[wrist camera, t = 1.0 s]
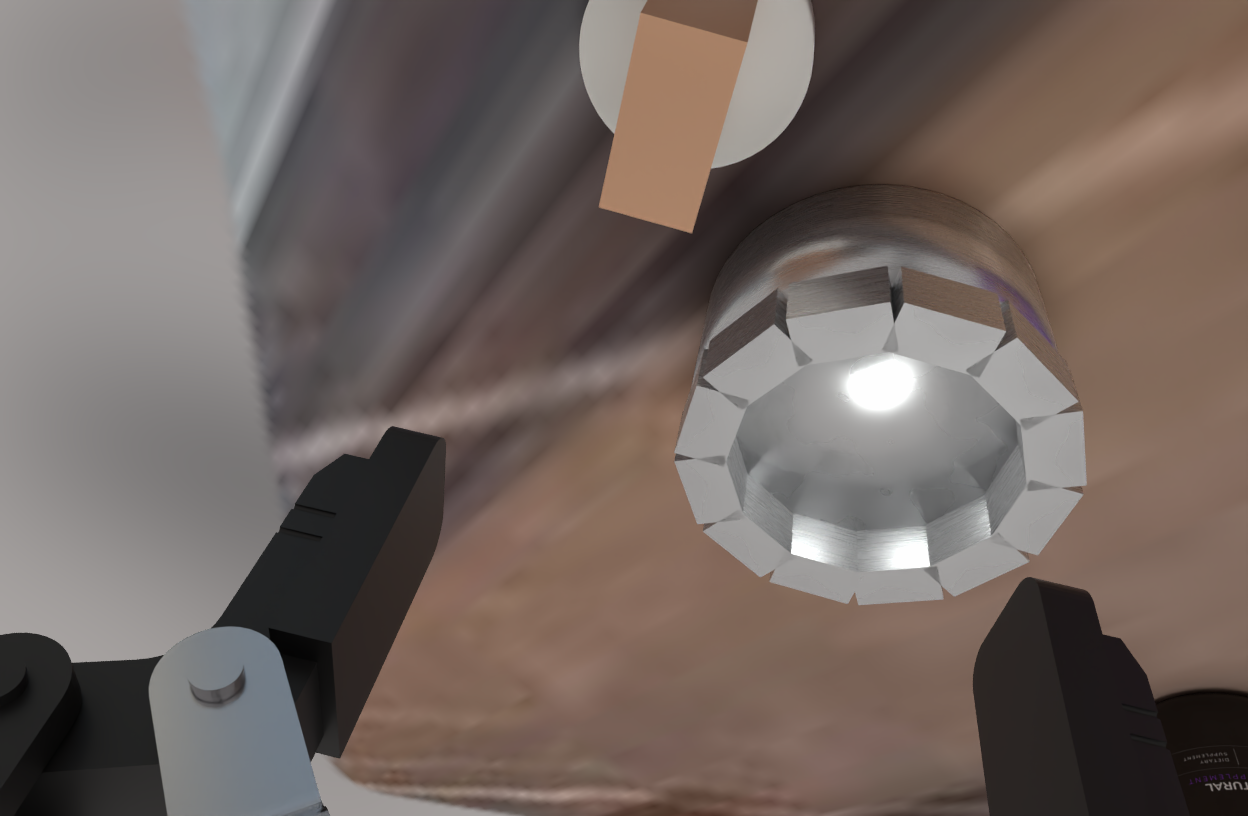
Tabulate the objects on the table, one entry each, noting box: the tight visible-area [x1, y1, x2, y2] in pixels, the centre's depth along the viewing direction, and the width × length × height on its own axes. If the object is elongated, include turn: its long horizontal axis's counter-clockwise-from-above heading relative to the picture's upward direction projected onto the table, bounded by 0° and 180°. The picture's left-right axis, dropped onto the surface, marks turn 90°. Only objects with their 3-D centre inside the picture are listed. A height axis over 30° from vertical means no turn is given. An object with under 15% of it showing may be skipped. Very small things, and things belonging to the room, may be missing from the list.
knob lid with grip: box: [579, 0, 815, 233], centre depth 25 cm, size 6×6×7 cm
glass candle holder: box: [674, 185, 1087, 605], centre depth 30 cm, size 11×11×7 cm
